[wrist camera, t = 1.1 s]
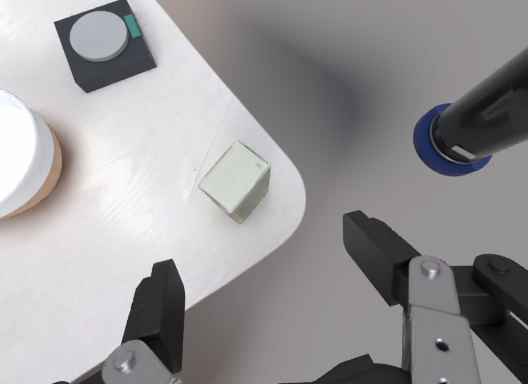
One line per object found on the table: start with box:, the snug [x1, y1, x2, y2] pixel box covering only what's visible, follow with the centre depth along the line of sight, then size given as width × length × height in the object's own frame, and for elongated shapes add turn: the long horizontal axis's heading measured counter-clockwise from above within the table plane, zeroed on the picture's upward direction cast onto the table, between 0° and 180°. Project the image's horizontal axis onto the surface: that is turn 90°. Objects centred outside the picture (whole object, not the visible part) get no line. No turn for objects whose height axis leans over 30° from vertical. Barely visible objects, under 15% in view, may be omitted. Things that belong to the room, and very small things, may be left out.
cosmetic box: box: [197, 140, 271, 224], centre depth 31 cm, size 6×4×12 cm
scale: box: [54, 0, 157, 93], centre depth 40 cm, size 11×11×3 cm
